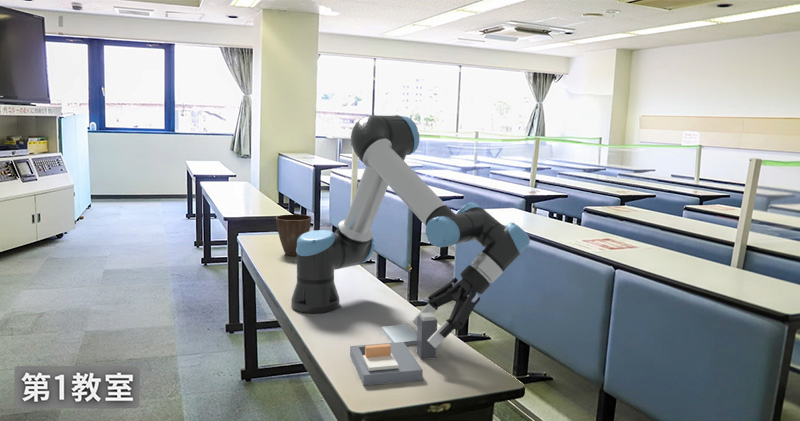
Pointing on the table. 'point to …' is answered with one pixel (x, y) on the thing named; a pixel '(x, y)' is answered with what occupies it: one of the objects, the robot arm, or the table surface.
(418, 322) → the grey block
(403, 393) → the table surface
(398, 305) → the table surface
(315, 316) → the table surface
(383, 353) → the shutter
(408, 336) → the hard drive
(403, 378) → the socket plate
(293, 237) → the plant pot
